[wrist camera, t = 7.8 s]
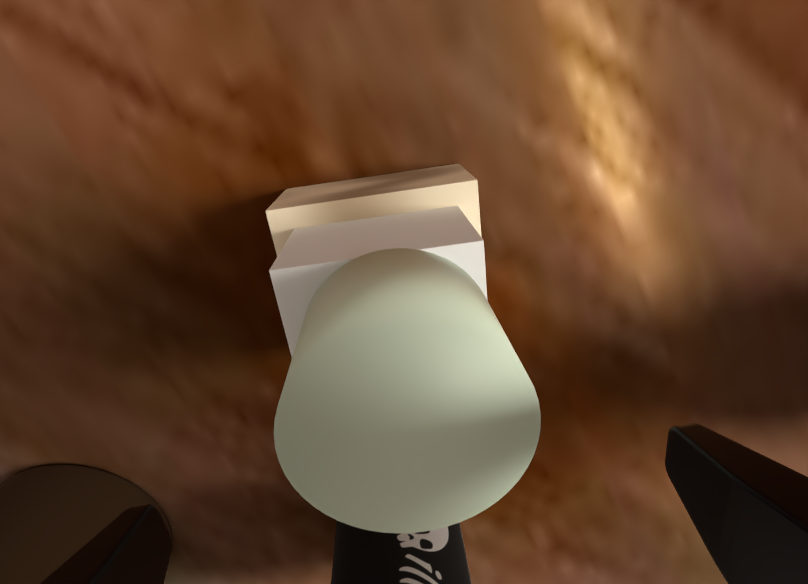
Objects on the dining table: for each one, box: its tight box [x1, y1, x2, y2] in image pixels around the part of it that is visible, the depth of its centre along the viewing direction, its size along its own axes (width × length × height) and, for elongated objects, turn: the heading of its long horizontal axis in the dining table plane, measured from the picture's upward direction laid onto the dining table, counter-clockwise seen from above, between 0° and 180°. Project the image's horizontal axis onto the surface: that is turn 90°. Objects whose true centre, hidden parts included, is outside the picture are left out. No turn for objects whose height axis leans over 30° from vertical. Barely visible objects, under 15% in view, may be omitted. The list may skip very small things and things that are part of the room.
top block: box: [269, 206, 487, 357], centre depth 15 cm, size 6×6×4 cm
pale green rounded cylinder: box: [274, 248, 541, 533], centre depth 11 cm, size 5×5×4 cm
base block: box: [266, 164, 481, 256], centre depth 18 cm, size 7×7×4 cm
